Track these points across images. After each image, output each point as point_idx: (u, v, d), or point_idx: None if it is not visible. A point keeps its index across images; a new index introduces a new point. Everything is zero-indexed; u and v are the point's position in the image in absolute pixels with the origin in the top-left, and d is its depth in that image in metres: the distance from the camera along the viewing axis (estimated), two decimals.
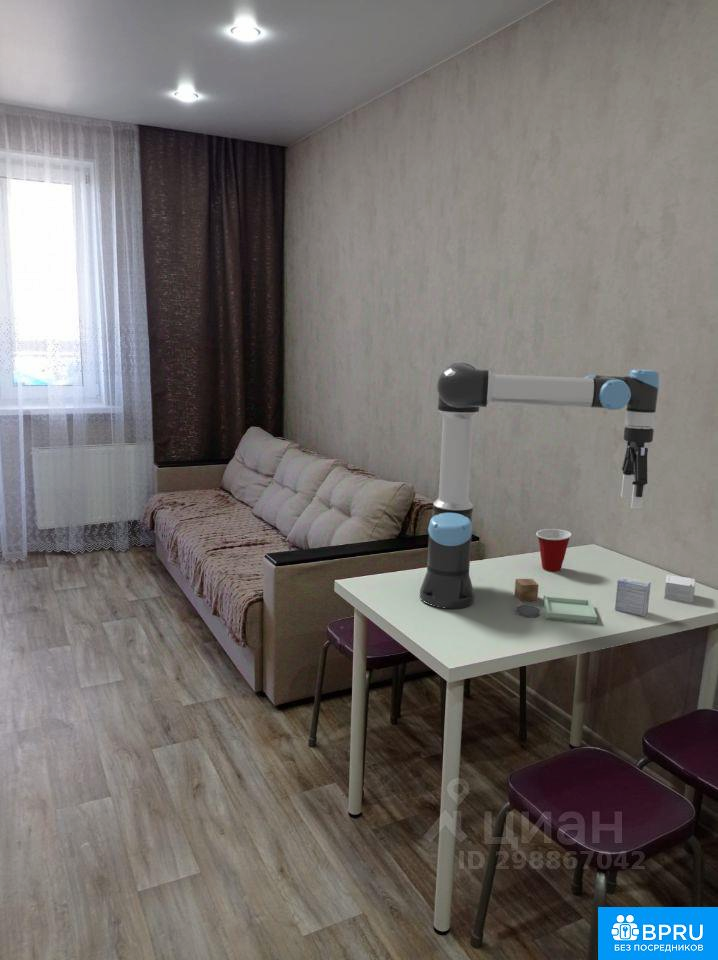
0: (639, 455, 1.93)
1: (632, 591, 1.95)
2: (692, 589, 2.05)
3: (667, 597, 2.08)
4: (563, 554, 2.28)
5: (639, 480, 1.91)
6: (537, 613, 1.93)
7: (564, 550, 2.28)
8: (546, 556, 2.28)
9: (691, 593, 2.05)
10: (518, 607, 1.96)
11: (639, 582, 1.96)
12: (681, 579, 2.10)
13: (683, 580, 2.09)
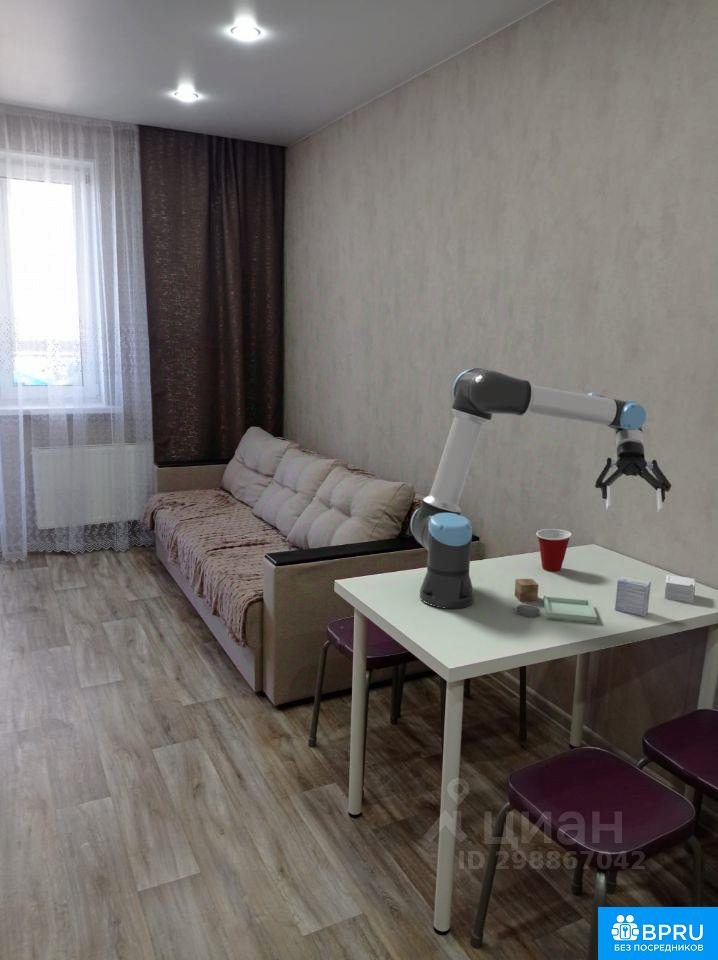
0: None
1: (632, 591, 1.95)
2: (692, 589, 2.05)
3: (667, 597, 2.08)
4: (563, 554, 2.28)
5: None
6: (537, 613, 1.93)
7: (564, 550, 2.28)
8: (546, 556, 2.28)
9: (692, 593, 2.05)
10: (518, 607, 1.96)
11: (639, 582, 1.96)
12: (681, 579, 2.10)
13: (683, 580, 2.09)
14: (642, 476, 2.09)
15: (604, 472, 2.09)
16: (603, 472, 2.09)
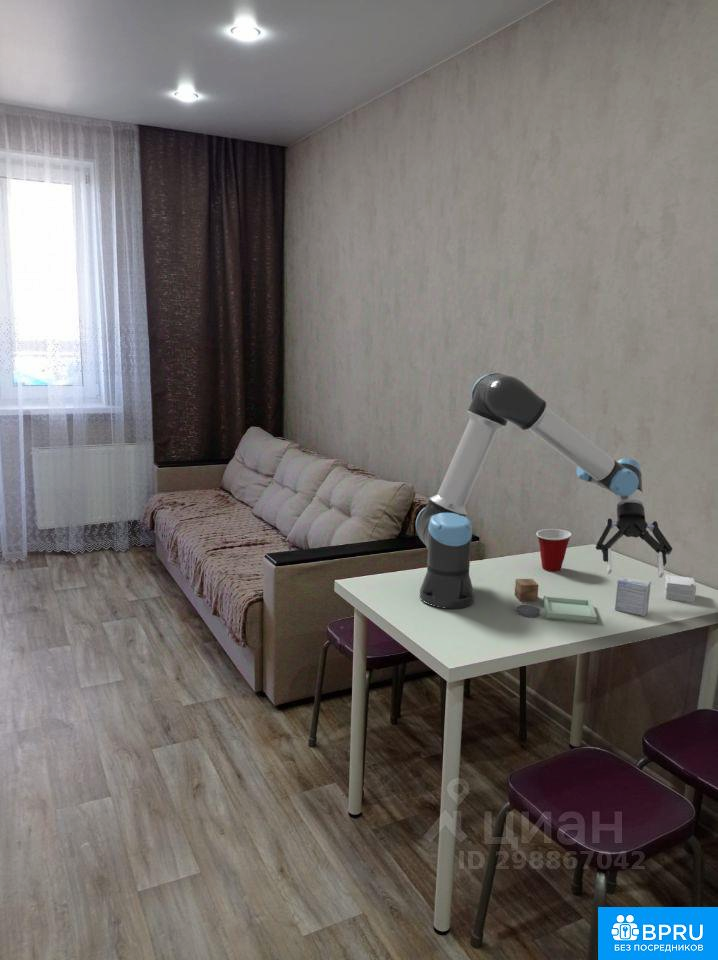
0: None
1: (632, 591, 1.95)
2: (694, 589, 2.05)
3: (669, 597, 2.08)
4: (563, 554, 2.28)
5: None
6: (537, 613, 1.93)
7: (564, 550, 2.28)
8: (546, 556, 2.28)
9: (693, 593, 2.05)
10: (518, 607, 1.96)
11: (639, 582, 1.96)
12: (681, 579, 2.10)
13: (683, 580, 2.09)
14: (643, 538, 2.07)
15: (605, 534, 2.07)
16: (604, 534, 2.07)
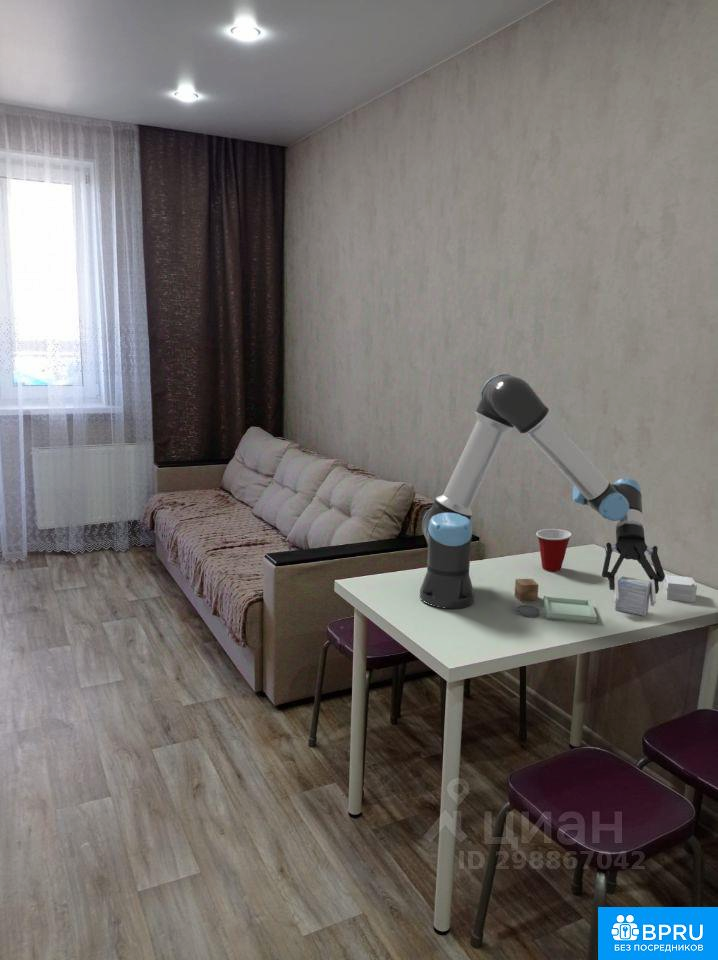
0: None
1: (632, 591, 1.95)
2: (694, 588, 2.05)
3: (670, 598, 2.08)
4: (563, 554, 2.28)
5: None
6: (537, 613, 1.93)
7: (564, 550, 2.28)
8: (546, 556, 2.28)
9: (694, 593, 2.06)
10: (518, 607, 1.96)
11: (639, 581, 1.96)
12: (681, 578, 2.10)
13: (683, 580, 2.09)
14: (639, 561, 2.02)
15: (608, 560, 2.01)
16: (607, 560, 2.01)
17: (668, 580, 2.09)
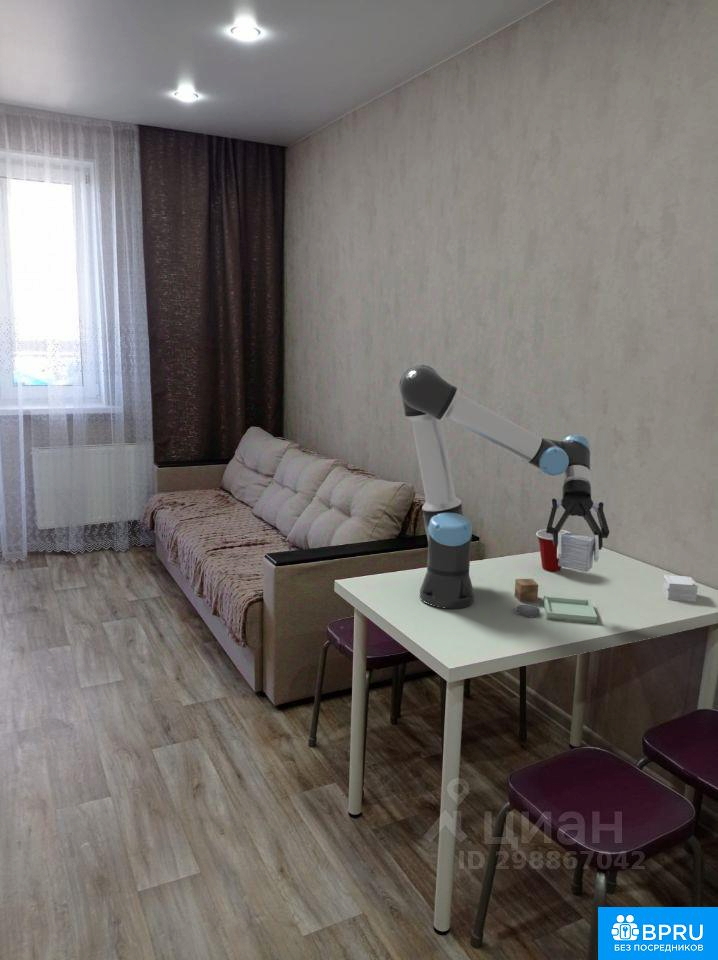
0: (602, 509, 1.96)
1: (575, 546, 1.91)
2: (695, 588, 2.06)
3: (671, 598, 2.07)
4: None
5: None
6: (537, 613, 1.93)
7: None
8: (546, 556, 2.28)
9: (695, 592, 2.06)
10: (518, 607, 1.96)
11: (583, 537, 1.91)
12: (680, 578, 2.11)
13: (683, 579, 2.10)
14: (585, 518, 1.97)
15: (553, 515, 1.96)
16: (551, 515, 1.96)
17: (668, 580, 2.09)
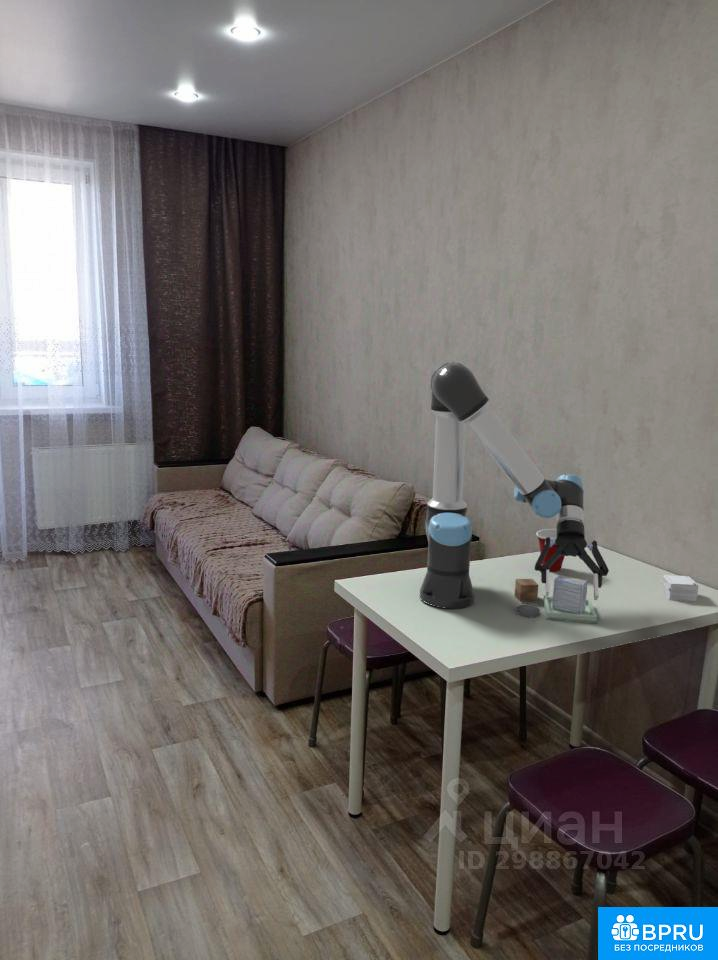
0: None
1: (568, 590, 1.93)
2: (696, 587, 2.06)
3: (672, 598, 2.07)
4: None
5: None
6: (537, 613, 1.93)
7: None
8: (546, 556, 2.28)
9: (695, 592, 2.06)
10: (518, 607, 1.96)
11: (575, 580, 1.94)
12: (680, 578, 2.11)
13: (682, 579, 2.10)
14: (581, 557, 1.99)
15: (543, 554, 1.99)
16: (542, 554, 1.99)
17: (669, 580, 2.09)
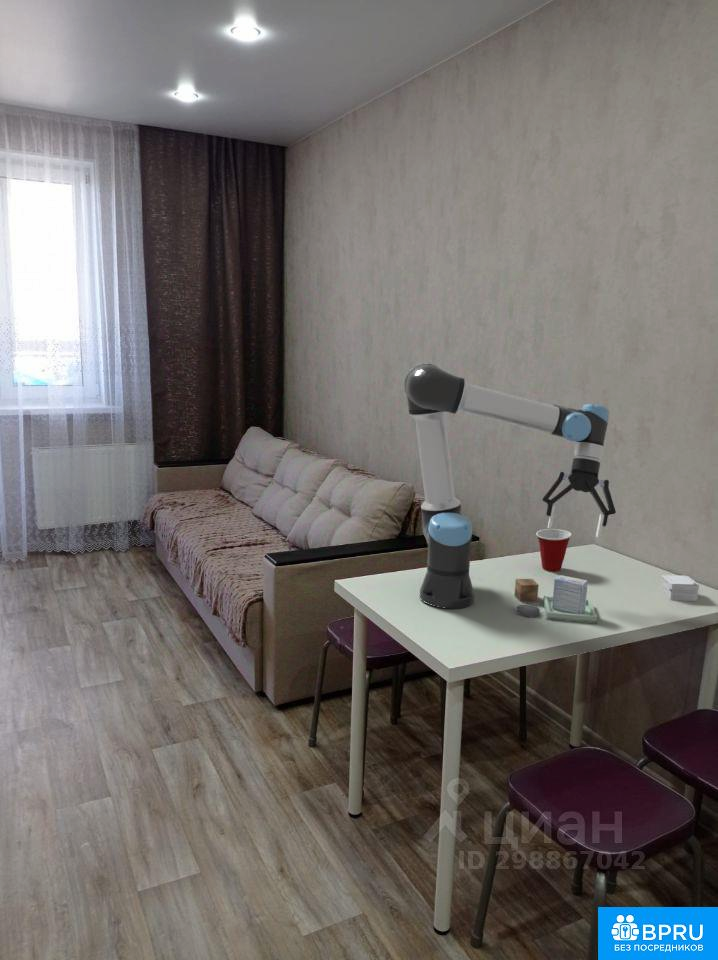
0: None
1: (568, 590, 1.93)
2: (697, 587, 2.06)
3: (673, 598, 2.07)
4: (563, 554, 2.28)
5: None
6: (537, 613, 1.93)
7: (564, 550, 2.28)
8: (546, 556, 2.28)
9: (696, 591, 2.07)
10: (518, 607, 1.96)
11: (576, 580, 1.94)
12: (679, 578, 2.11)
13: (682, 579, 2.10)
14: (591, 494, 2.07)
15: (553, 489, 2.07)
16: (552, 489, 2.07)
17: (670, 581, 2.09)
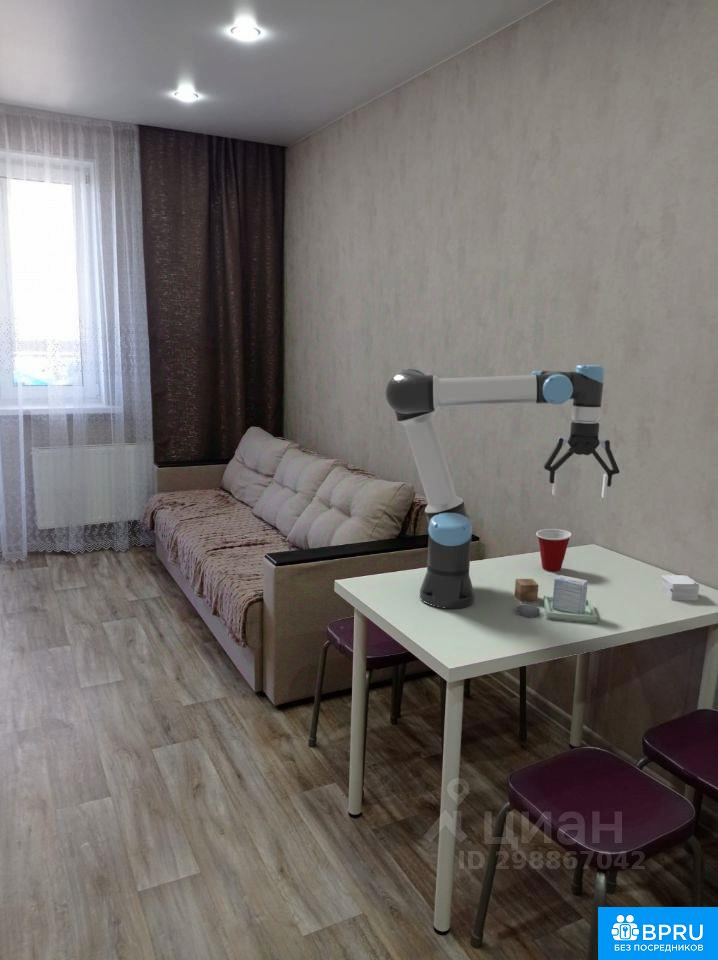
0: (609, 447, 2.01)
1: (568, 590, 1.93)
2: (697, 587, 2.07)
3: (674, 598, 2.07)
4: (563, 554, 2.28)
5: None
6: (537, 613, 1.93)
7: (564, 550, 2.28)
8: (546, 556, 2.28)
9: (696, 591, 2.07)
10: (518, 607, 1.96)
11: (576, 580, 1.94)
12: (679, 578, 2.11)
13: (682, 579, 2.10)
14: None
15: (554, 456, 2.03)
16: (553, 456, 2.03)
17: (670, 581, 2.09)
